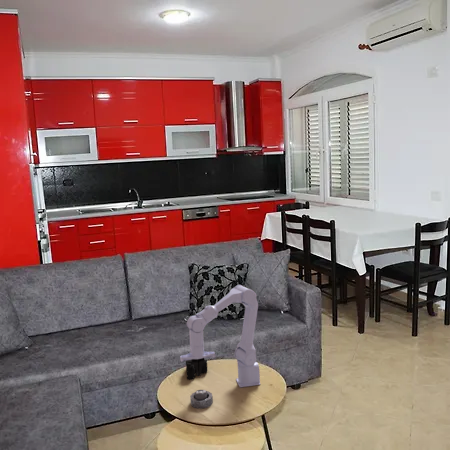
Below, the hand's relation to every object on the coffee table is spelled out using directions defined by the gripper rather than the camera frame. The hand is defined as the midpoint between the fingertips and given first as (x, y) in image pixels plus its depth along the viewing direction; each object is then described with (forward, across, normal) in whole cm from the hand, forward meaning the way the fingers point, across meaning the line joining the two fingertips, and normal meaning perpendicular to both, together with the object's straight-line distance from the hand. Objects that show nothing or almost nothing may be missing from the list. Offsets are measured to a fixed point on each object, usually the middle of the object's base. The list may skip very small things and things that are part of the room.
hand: (198, 375), depth 197 cm
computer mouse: (+9, 0, +5) cm, 11 cm away
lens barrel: (+10, 0, +5) cm, 11 cm away
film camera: (+10, -2, -23) cm, 25 cm away
